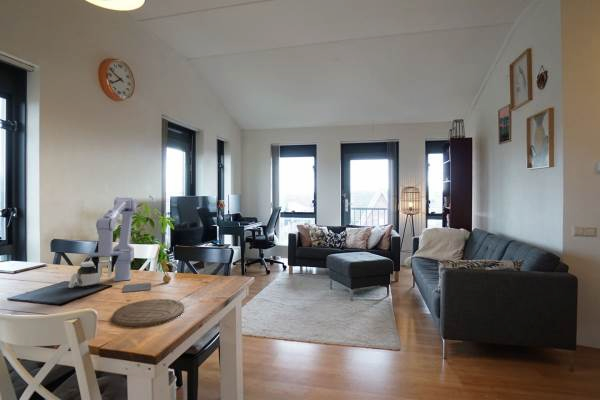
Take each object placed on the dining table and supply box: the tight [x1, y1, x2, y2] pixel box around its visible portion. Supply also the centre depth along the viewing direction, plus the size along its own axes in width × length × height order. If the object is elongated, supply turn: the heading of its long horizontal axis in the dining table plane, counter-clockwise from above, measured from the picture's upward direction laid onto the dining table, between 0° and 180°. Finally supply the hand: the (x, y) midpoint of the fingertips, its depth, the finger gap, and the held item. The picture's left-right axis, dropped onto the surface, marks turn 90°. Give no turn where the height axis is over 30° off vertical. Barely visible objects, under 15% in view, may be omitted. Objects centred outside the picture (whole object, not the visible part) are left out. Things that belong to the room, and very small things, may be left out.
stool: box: [98, 259, 113, 279], centre depth 148 cm, size 5×5×7 cm
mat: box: [121, 282, 152, 294], centre depth 154 cm, size 12×12×1 cm
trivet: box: [112, 298, 185, 328], centre depth 122 cm, size 25×25×2 cm
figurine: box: [157, 259, 173, 284], centre depth 165 cm, size 8×6×12 cm
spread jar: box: [68, 260, 101, 289], centre depth 154 cm, size 12×11×12 cm
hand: (105, 272), depth 148 cm, fingers closed on stool, 5 cm apart
